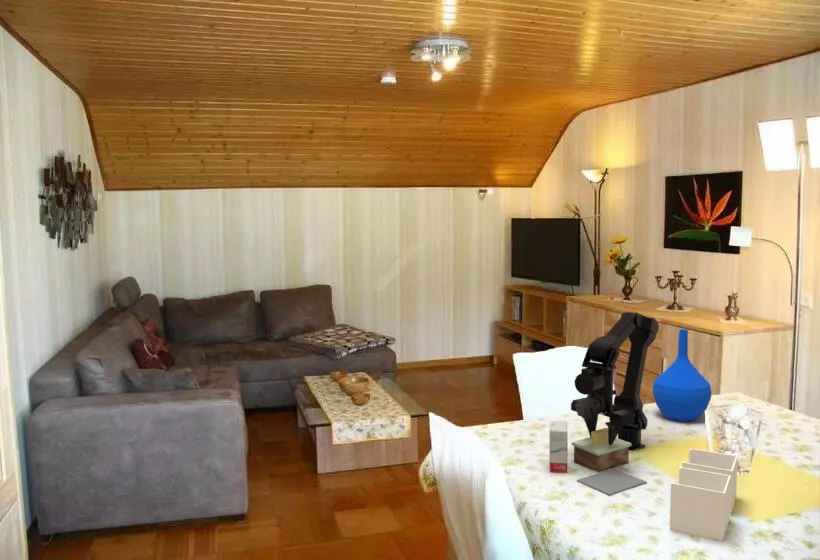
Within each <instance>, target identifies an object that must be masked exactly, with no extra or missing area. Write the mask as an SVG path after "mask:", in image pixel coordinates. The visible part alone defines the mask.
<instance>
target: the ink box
mask: <svg viewBox="0 0 820 560" xmlns="http://www.w3.org/2000/svg"><path fill="white" fill-rule="evenodd" d="M568 442H569V441H568V423H567V422H565V421H549V450H548V451H549V472H550V473H564V474H566V473H568V457H569V456H568V447H569V446H568Z"/></svg>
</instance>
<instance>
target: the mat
mask: <svg viewBox="0 0 820 560" xmlns="http://www.w3.org/2000/svg"><path fill="white" fill-rule="evenodd" d="M576 482H578V483H580V484H582V485H584V486H587V487H588V488H590V489H593V490H596V491H598V492H600V493H602V494H604V495H606V496H608V497H610V496H613V495H615V494H619V493H622V492H625V491H627V490H631V489H634V488H637V487H640V486H642V485H645V484H648V482H647V480H645V479H641V478H640V477H637V476H634V475H632V474H629V473H627V472H624V471H622V470H619V469H617V468H615V467H614V468H611V469H608V470H605V471H602V472H596V473H595V474H591V475H588V476H585V477H581V478H578V479H576Z"/></svg>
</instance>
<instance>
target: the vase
mask: <svg viewBox="0 0 820 560" xmlns="http://www.w3.org/2000/svg"><path fill="white" fill-rule="evenodd" d="M688 335H689V334H688V329H683V328H681V329H679V330H678V347H677V349H678V350H677V356H676V358H675V360H674V361H673V362H672V363H671V365H669V367H667V368H666V369H665V370H664V371H663V372H662V373H661V374H659V375H658V376H657V377H656V378H655V379H654V381H653V385H652V395H653V398H654V402H655V404H656V406H657V408H658V410H659V411H660V412H661V413H662V414H663V416H665V418H667V419H669V420H673V421H677V422H693V421H696V420H697V419H699V418H701V417H702V415H704V413H705V411H706V410H707V408H708V406H709V404H710V402H711V399H712V388H711V384H710V382H709V381H708V380H707V379H706V378H705V377H704V376H703V375H702V374H701V372H699V371H698V370H697V368H696V367H695V366H694V365H693V364H692V362H691V361H690V359H689V355H688V354H689V353H688V352H689V351H688V350H689V349H688V345H689V343H688V342H689V340H688V338H689V336H688Z"/></svg>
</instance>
